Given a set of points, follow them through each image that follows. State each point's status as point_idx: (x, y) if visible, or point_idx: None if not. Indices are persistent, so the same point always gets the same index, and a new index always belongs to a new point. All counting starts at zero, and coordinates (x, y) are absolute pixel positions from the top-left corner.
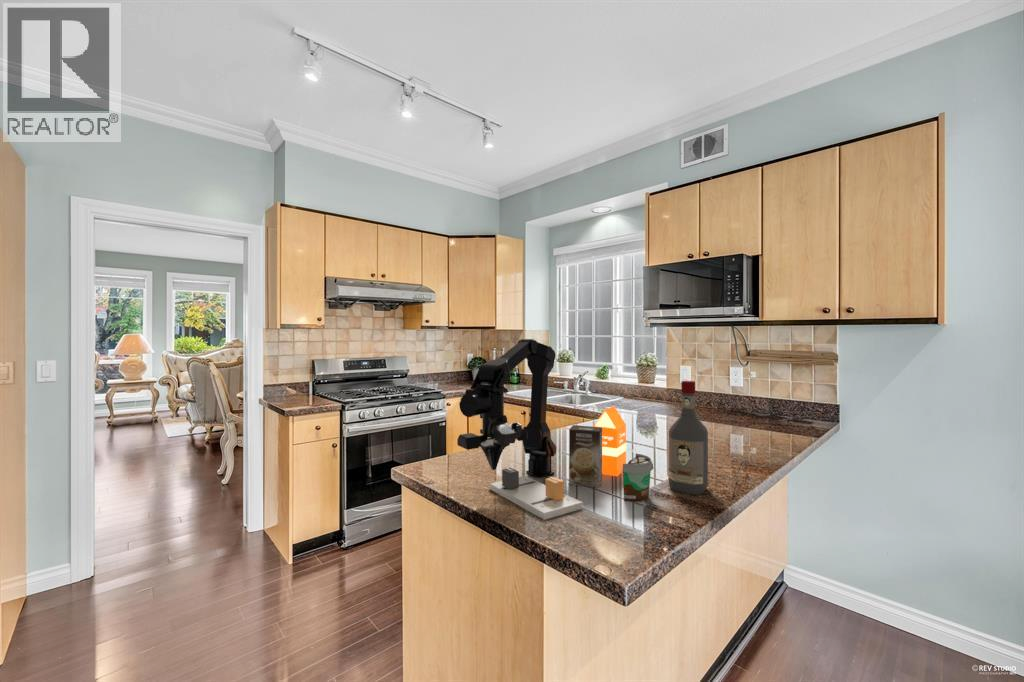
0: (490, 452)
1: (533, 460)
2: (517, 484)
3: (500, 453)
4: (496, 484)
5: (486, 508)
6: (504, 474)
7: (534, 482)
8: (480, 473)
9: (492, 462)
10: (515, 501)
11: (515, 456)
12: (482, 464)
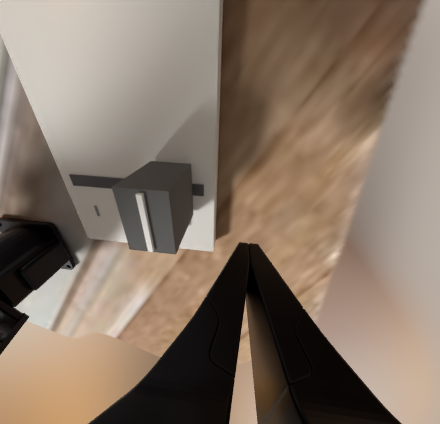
0: (367, 404)
1: (19, 276)
2: (151, 165)
3: (195, 333)
4: (200, 235)
5: (341, 112)
6: (179, 226)
7: (74, 174)
8: (178, 314)
9: (279, 278)
10: (219, 76)
11: (72, 331)
12: (151, 337)
